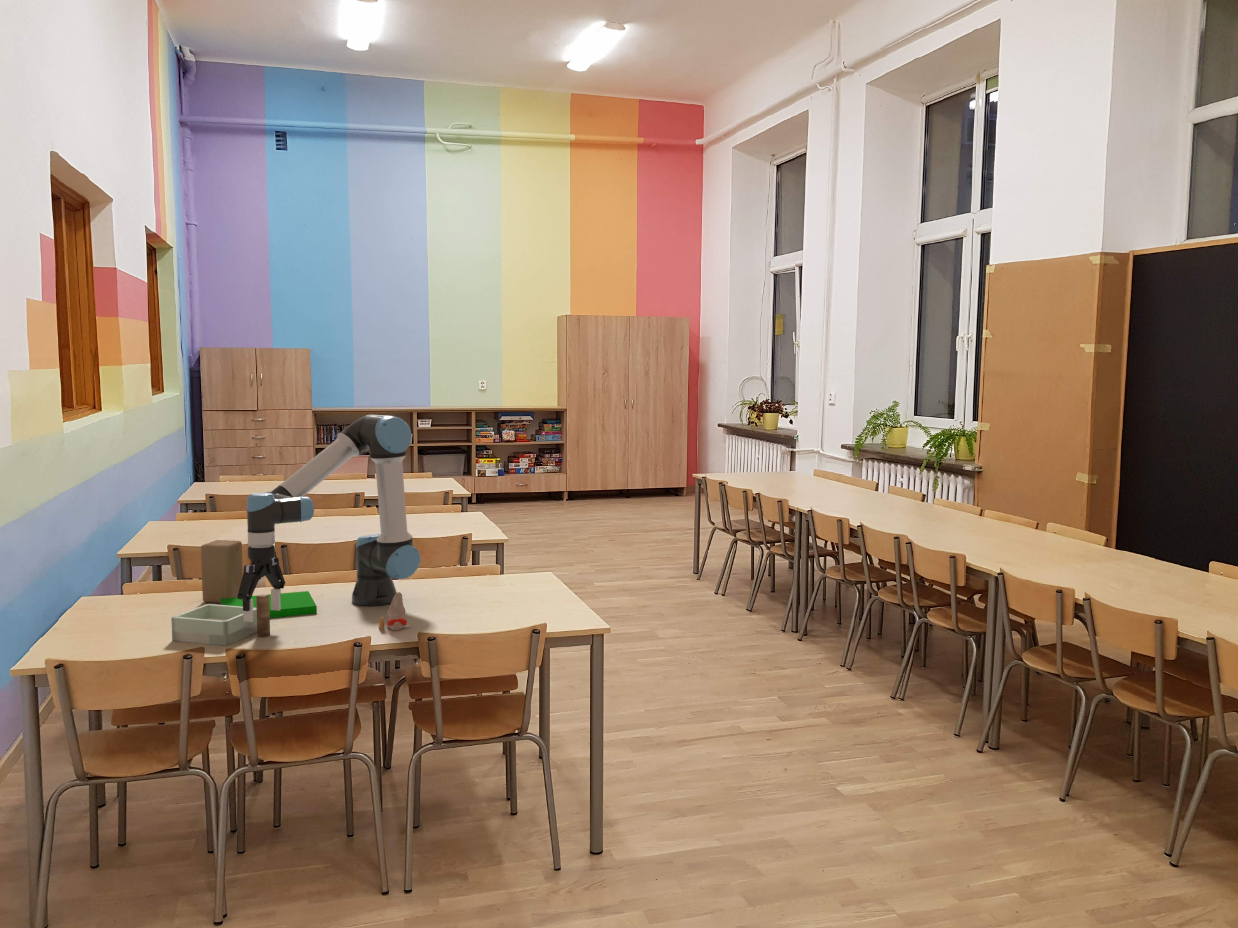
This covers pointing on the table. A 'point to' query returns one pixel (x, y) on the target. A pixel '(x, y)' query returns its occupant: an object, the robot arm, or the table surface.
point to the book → (283, 604)
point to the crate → (213, 625)
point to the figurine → (395, 614)
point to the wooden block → (221, 570)
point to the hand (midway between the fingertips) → (262, 615)
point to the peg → (263, 615)
